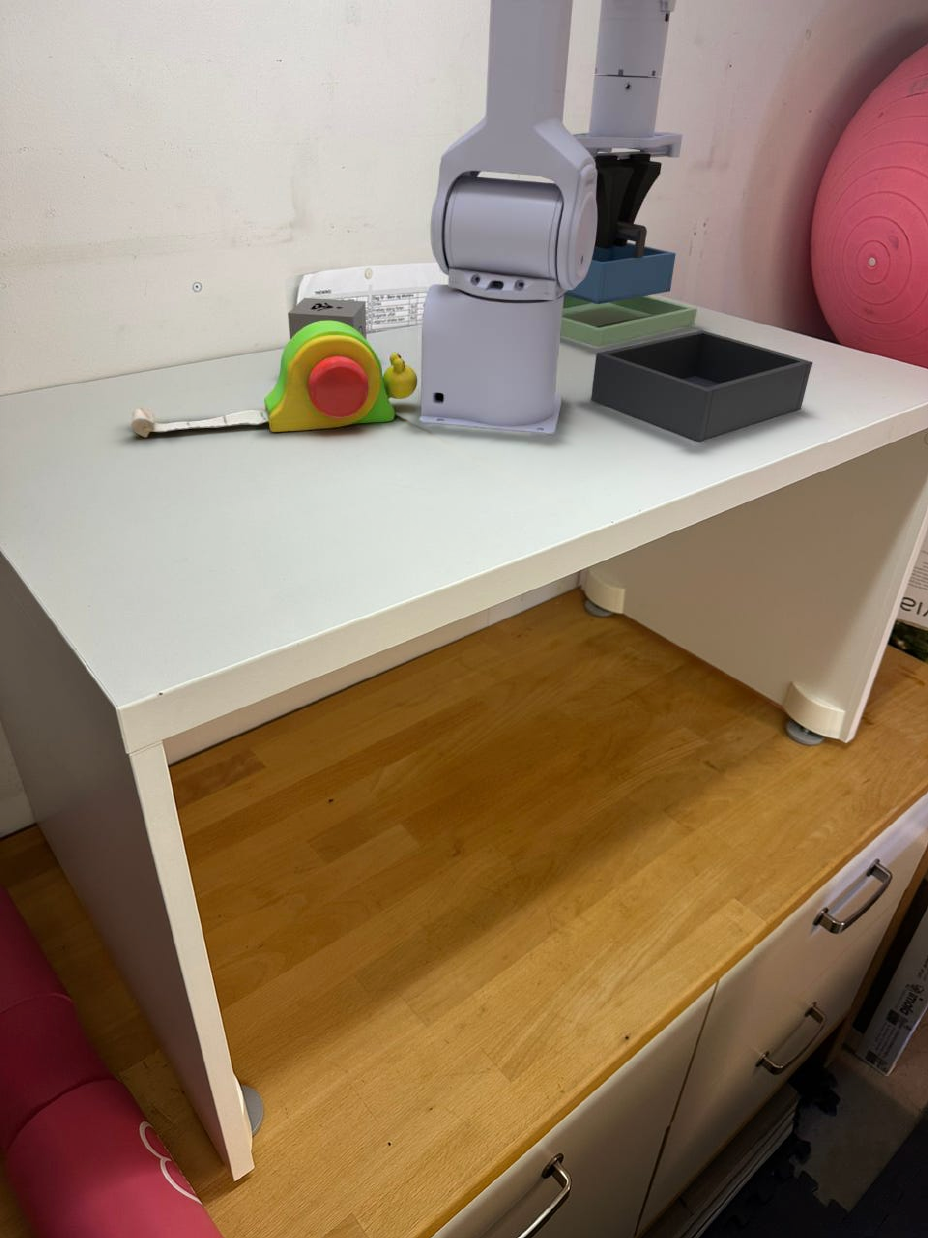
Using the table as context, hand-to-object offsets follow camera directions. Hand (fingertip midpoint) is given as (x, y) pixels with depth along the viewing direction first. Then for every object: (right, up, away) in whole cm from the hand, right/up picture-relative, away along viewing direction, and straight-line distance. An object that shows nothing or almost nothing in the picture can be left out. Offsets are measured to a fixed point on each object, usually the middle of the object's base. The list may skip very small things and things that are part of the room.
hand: (608, 245), depth 83 cm
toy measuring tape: (-26, -21, -21) cm, 40 cm away
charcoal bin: (+4, -19, -16) cm, 25 cm away
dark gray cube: (-24, -15, -11) cm, 31 cm away
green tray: (0, -6, +4) cm, 7 cm away
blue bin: (0, -3, +2) cm, 4 cm away
